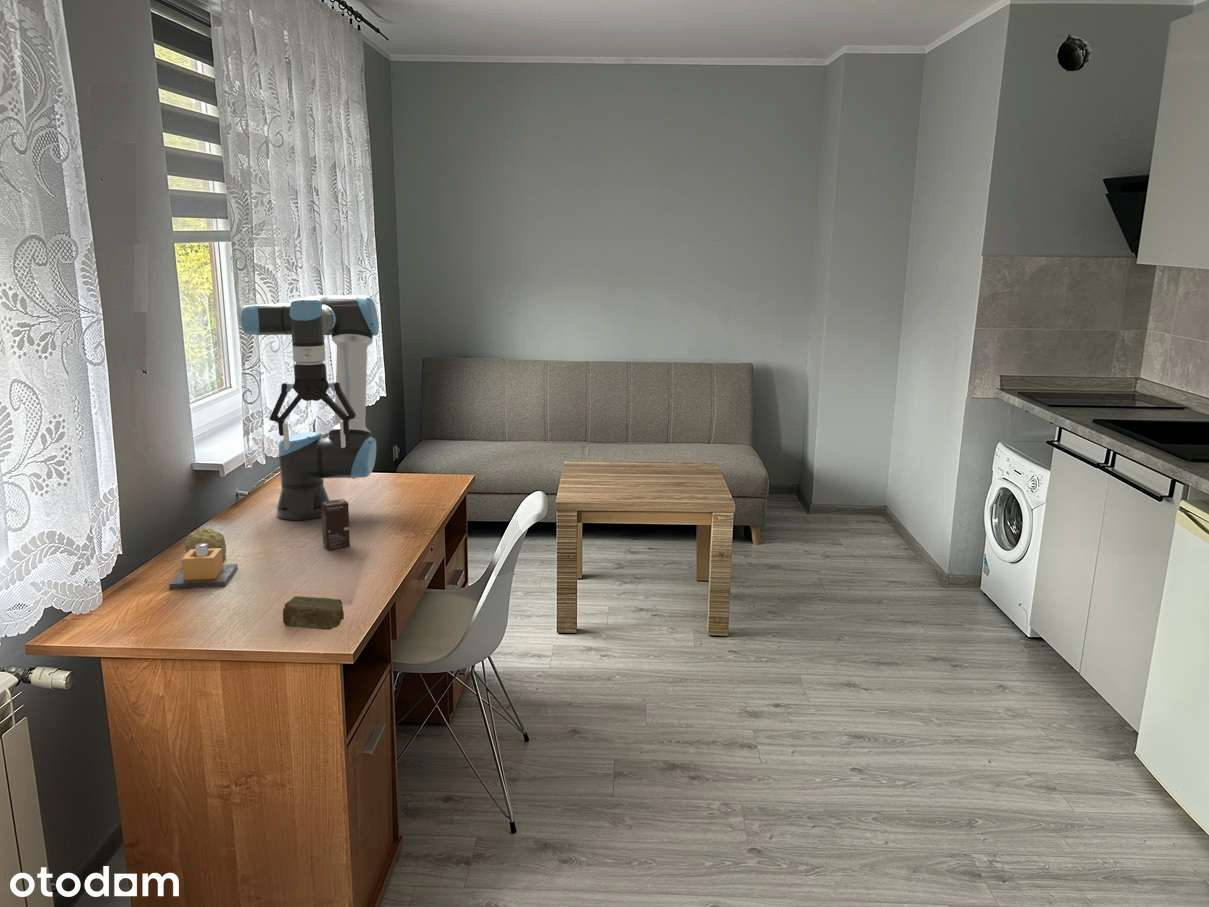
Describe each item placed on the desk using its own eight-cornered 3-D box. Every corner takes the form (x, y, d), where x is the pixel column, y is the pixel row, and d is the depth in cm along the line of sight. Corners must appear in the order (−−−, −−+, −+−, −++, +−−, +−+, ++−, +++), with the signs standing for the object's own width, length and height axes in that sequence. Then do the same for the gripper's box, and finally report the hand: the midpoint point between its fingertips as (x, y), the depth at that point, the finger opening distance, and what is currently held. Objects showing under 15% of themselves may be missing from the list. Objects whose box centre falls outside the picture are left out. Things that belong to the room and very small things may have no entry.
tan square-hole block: (192, 569, 217) (190, 549, 216) (223, 568, 218) (221, 548, 217) (183, 579, 210) (181, 559, 209) (215, 578, 211) (213, 557, 210)
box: (328, 551, 234) (325, 505, 232) (323, 546, 238) (320, 501, 235) (351, 547, 237) (348, 502, 235) (345, 542, 241) (343, 498, 239)
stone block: (295, 616, 193) (294, 594, 192) (346, 620, 191) (345, 598, 190) (281, 627, 187) (279, 604, 186) (334, 632, 185) (332, 608, 184)
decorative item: (227, 574, 228) (241, 537, 232) (202, 562, 219) (216, 523, 223) (196, 571, 231) (210, 534, 235) (170, 558, 222) (185, 520, 226)
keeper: (185, 571, 219) (181, 538, 218) (237, 568, 221) (234, 536, 219) (169, 589, 208) (165, 554, 206) (225, 586, 210) (222, 552, 208)
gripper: (253, 365, 220) (260, 452, 224) (360, 363, 223) (365, 449, 228) (259, 361, 227) (266, 445, 231) (363, 360, 230) (368, 443, 235)
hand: (315, 447), depth 230 cm, fingers open, 13 cm apart
